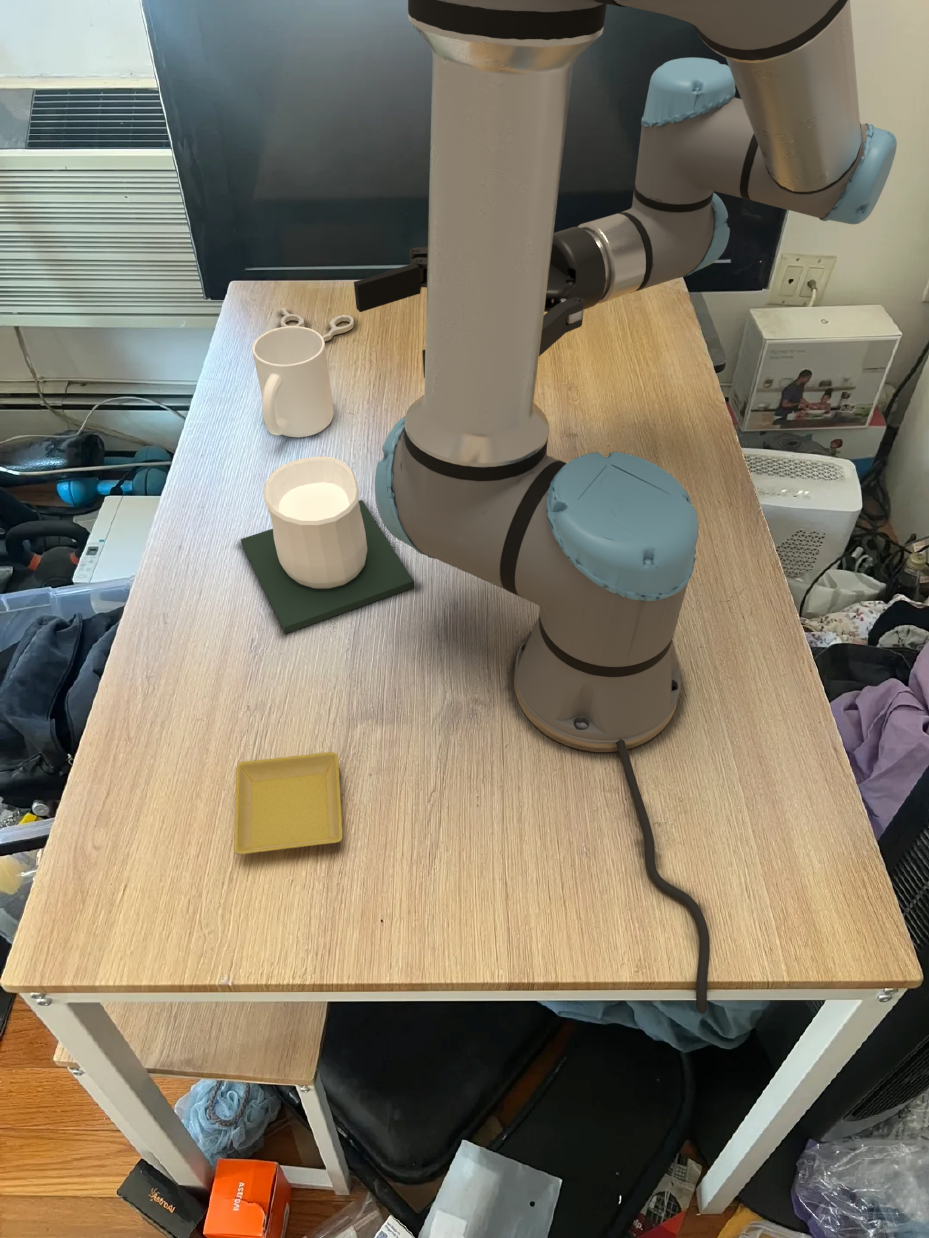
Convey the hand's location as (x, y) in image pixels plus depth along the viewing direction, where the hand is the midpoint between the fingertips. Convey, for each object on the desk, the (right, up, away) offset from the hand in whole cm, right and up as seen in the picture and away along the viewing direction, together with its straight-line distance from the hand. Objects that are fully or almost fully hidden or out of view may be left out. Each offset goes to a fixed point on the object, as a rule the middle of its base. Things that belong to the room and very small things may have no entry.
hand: (389, 330), depth 81 cm
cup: (-8, -19, +14) cm, 25 cm away
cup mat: (-8, -20, +15) cm, 26 cm away
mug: (-14, -2, +31) cm, 34 cm away
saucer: (-8, -42, -4) cm, 43 cm away
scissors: (-14, +10, +41) cm, 45 cm away
